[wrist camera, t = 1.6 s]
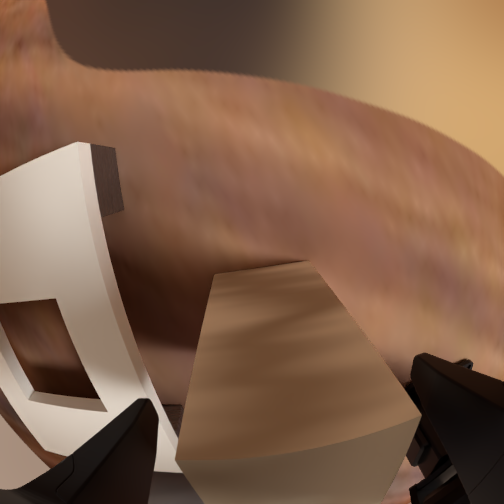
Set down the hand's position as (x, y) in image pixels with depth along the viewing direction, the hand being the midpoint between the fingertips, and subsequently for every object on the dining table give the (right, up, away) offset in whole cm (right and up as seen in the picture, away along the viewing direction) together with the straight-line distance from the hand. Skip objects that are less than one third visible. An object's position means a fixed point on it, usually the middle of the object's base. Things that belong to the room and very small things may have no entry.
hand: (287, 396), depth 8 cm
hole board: (-12, 0, +6) cm, 14 cm away
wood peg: (0, +2, +6) cm, 6 cm away
